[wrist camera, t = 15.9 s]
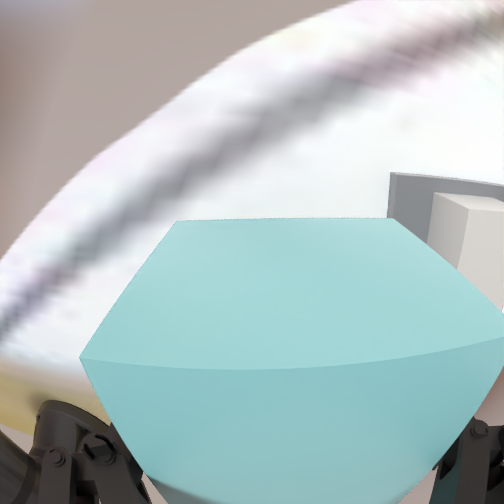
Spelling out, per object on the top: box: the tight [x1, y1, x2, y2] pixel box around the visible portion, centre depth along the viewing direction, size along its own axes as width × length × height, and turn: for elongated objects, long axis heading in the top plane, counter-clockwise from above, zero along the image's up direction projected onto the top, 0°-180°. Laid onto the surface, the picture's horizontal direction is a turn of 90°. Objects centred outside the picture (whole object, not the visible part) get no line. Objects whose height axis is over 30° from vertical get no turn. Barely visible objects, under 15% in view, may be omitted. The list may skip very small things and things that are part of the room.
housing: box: [387, 172, 504, 312], centre depth 24 cm, size 15×26×6 cm, turn 2°
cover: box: [79, 218, 504, 504], centre depth 13 cm, size 10×17×9 cm, turn 1°
